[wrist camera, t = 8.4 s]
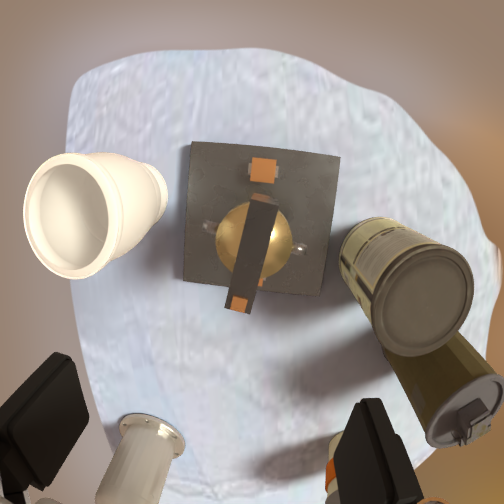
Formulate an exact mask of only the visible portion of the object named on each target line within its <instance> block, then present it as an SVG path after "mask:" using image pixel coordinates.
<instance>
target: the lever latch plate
mask: <svg viewBox="0 0 504 504" xmlns="http://www.w3.org/2000/svg"><path fill="white" fill-rule="evenodd" d="M339 166H340V157H337V156H331V155H324V154H318V153H311V152H304V151H296V150H288V149H280V148H271V147H262V146H251V145H240V144H228V143H213V142H195V141H192V144H191V154H190V166H189V178H188V192H187V207H186V224H185V245H184V273H183V281H187V282H195V283H202V284H210V285H218V286H226V287H229V286H230V282H231V278H232V274H233V273H232V272H231V271H230V270H229V269H227V268H226V267H225V265H224V264H223V263H222V261H221V260H220V258H219V256H218V253H217V250H216V234H212V233H208V232H204V231H202V226H203V222H204V220H205V219H206V220H210V221H214V222H218V223H221V222H222V220H223V219H224V218H225V216H226V215H227V214H228V213H229V212H230V211H231V210H232V209H233V208H234V207H236V206H238V205H240V204H242V203H245V202H249V201H250V200H251V197H252V196H253V194H254V193H258V194H262V195H266V196H270V197H273V198H277V199H278V203H279V209H278V210H279V211H280V212H281V213H282V214H283V215H284V217H285V218H286V220H287V222H288V224H289V227H290V231H291V234H292V241H293V242H297V243H301V244H305V245H307V252H306V255H305V257H304V256H300V255H296V254H292V253H291V254H290V257H289V259H288V260H287V262H286V264H285V265H284V266H283V267H282V268H281V269H280V270H279V271H278V272H276V273H275V274H273V275H271V276H269V277H266V278H262V279H259V283H258V287H257V290H261V291H270V292H279V293H289V294H298V295H309V296H319V295H320V290H321V284H322V279H323V273H324V268H325V262H326V256H327V250H328V244H329V238H330V232H331V225H332V219H333V212H334V205H335V198H336V190H337V182H338V174H339Z"/></svg>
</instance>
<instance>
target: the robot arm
mask: <svg viewBox="0 0 504 504" xmlns="http://www.w3.org/2000/svg"><path fill="white" fill-rule="evenodd" d="M88 422H89V413H88V410H87V406H86V403H85V400H84V397H83V393H82V389H81V385H80V382H79V378H78V374H77V370H76V366H75V363H74V362H73V361H72V359H71V357H69V356H67V355H64V354H61V353H58V352H54V353H53V354H52V355H51V356H50V357H49V358H48V359H47V360H46V361H45V362H44V363H43V364H42V365H41V366H40V367H39V368H38V369H37V370H36V371H35V372H34V373H33V374H32V375H31V376H30V377H29V378H28V379H27V380H26V381H25V382H24V383H23V384H22V385H21V386H20V387H19V388H18V389H17V390H16V391H15V392H14V393H13V394H12V395H11V396H10V398H9V399H8V400H7V401H6V402H5V403H4V404H3V405H2V406H1V407H0V504H31V503H30V499H29V495H28V490H27V488H28V486H29V485H32V486H33V487H35V488H37V489H39V490H41V491H43V490H44V488H45V487H46V486H49V485H50V484H51V483H52V481H53V480H54V478H55V476H56V475H57V473H58V471H59V469H60V468H61V466H62V464H63V463H64V461H65V460H66V458H67V456H68V455H69V453H70V451H71V450H72V448H73V446H74V445H75V443H76V442H77V440H78V438H79V437H80V435H81V434H82V432H83V430H84V429H85V427H86V425H87V424H88ZM119 431H120V434H121V436H122V437H123V438H122V440H121V442H120V444H119V446H118V448H117V450H116V452H115V454H114V456H113V458H112V460H111V462H110V464H109V467H108V469H107V471H106V473H105V475H104V477H103V479H102V481H101V483H100V486H99V488H98V490H97V492H96V496H95V503H96V504H158V503H159V500H160V497H161V494H162V490H163V487H164V484H165V481H166V478H167V474H168V471H169V468H170V465H171V462H172V459H174V458H177V457H179V456H181V455H182V454H183V452H184V449H185V441H184V439H183V437H182V435H181V434H180V433H179V432H178V431H177V430H176V429H175V428H174V427H173V426H171V425H170V424H168V423H167V422H165V421H163V420H161V419H158V418H156V417H153V416H149V415H145V414H130V415H127V416H125V417H124V418H123V419H122V421H121V423H120V425H119ZM333 462H334V468H335V474H336V480H337V486H338V492H339V498H340V504H450V503H449V502H447V501H446V500H444V499H442V498H439V497H428V498H425V499H424V496H423V493H422V491H421V488H420V485H419V483H418V480H417V477H416V475H415V472H414V469H413V467H412V464H411V462H410V459H409V457H408V454H407V451H406V449H405V446H404V444H403V442H402V439H401V437H400V436H399V435H398V434H395V432H394V430H393V427H392V425H391V422H390V420H389V417H388V415H387V412H386V410H385V408H384V405H383V403H382V401H381V399H380V398H363V399H362V400H361V401H360V403H356V404H355V406H354V408H353V411H352V413H351V415H350V418H349V420H348V423H347V425H346V427H345V430H344V432H343V434H342V436H341V439H340V441H339V443H338V445H337V447H336V450H335V452H334V456H333ZM35 504H62V503H60V502H57V501H56V500H54V499H51V498H41V499H39V500H38V501H37V502H36V503H35Z"/></svg>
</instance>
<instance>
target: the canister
mask: <svg viewBox="0 0 504 504" xmlns="http://www.w3.org/2000/svg"><path fill="white" fill-rule="evenodd" d="M382 350H383V354H384V356H385V358H386V359H387V360H388V361H389V362H390V364H391V366H392V368H393V370H394V372H395V374H396V376H397V377H398V379H399V381H400V383H401V385H402V387H403V389H404V391H405V393H406V395H407V397H408V399H409V401H410V403H411V405H412V407H413V409H414V411H415V413H416V415H417V417H418V419H419V421H420V424H421V426H422V428H423V430H424V432H425V438H426V441H427V443H428V444H429V445H430V446H432V447H435V448H447V447H451V446H455V445H457V444H459V446H463V445H468V444H470V443H471V442H473V441H474V440H476V439H478V438H479V437H481V436H483V435H484V434H486V433H487V432H489V431H490V428H491V424H490V422H491V419H492V418H493V417H494V416H495V415H496V413H497V412H498V410H499V409H500V407H501V405H502V403H503V402H504V378H503V377H502V376H501V375H498V374H497V373H496V372H495V371H494V370H493V368H492V367H491V366H490V365H489V364H488V363H487V362H486V361H485V360H484V358H483V357H482V356H481V355H480V354H479V353H478V352H477V351H476V350H475V349H474V347H473V346H472V345H471V344H470V343H469V342H468V341H467V340H466V339H465V338H464V337H463V336H462V335H461V334H460V333H459V332H458V331H457V332H456V334H455V335H454V336H453V337H452V338H451V339H450V340H449V341H448V342H446V343H445V344H444V345H442V346H441V347H439V348H438V349H436V350H434V351H432V352H430V353H427V354H424V355H420V356H414V357H404V356H399V355H396V354H394V353H392V352H390V351H388V350H387V349H385V348H384V347H383V346H382Z"/></svg>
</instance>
